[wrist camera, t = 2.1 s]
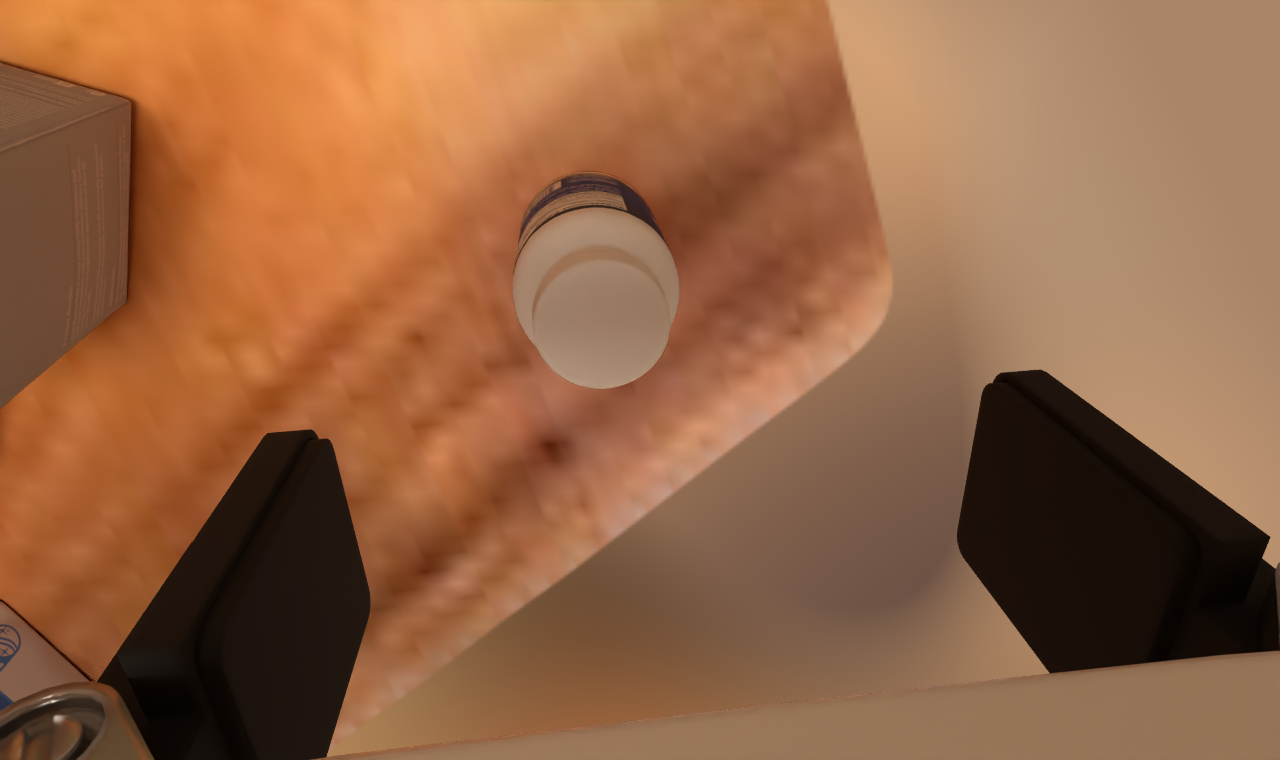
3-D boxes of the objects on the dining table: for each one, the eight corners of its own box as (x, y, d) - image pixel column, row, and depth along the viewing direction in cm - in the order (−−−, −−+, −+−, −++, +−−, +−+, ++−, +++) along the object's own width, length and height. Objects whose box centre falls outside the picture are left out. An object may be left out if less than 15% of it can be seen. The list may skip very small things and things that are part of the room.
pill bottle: (662, 291, 32) (702, 398, 23) (533, 309, 32) (525, 425, 23) (647, 159, 29) (686, 223, 21) (509, 178, 29) (488, 251, 20)
